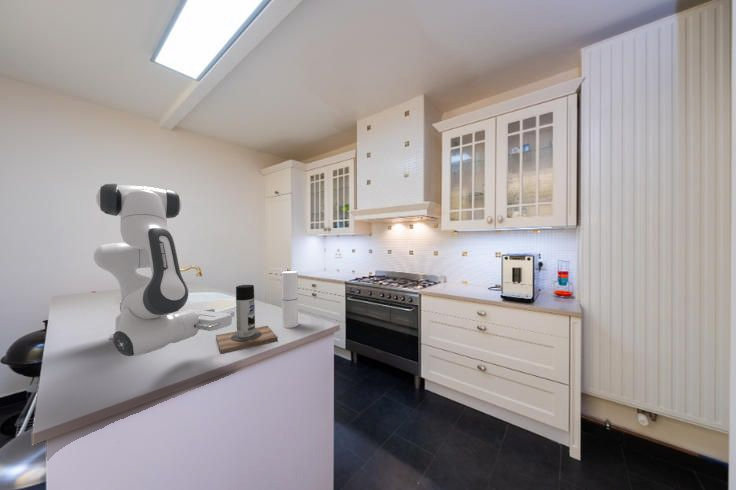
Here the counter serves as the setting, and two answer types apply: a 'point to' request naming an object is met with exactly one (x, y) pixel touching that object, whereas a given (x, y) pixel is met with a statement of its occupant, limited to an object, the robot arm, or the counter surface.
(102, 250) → the robot arm
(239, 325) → the spray can
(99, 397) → the counter surface
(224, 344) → the board
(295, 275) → the cylindrical container
